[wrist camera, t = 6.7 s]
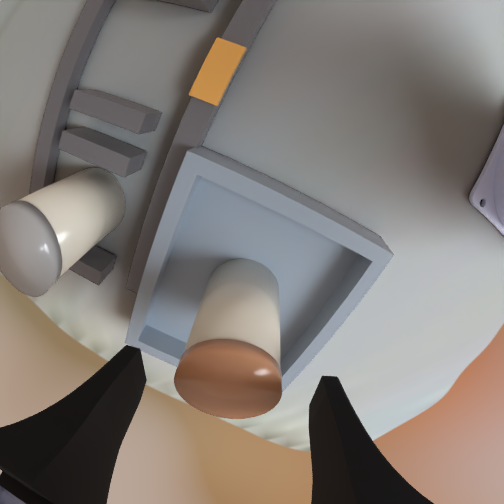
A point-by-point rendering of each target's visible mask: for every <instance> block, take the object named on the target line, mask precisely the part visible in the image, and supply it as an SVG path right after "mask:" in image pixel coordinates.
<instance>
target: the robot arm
mask: <svg viewBox="0 0 504 504" xmlns="http://www.w3.org/2000/svg"><path fill="white" fill-rule="evenodd" d="M469 200H470V203H471V204H472V205H473V206H474V207H475V208H476V209H477V210H478V211H480V212H481V213H482V214H483V215H484V216H485V217H486V218H487V219H488V220H489V221H490V222H491V223H492V224H493V225H494V226H495V227H496V228H497V229H498V230H499V231H500V232H501V233H502V234H503V236H504V125H503V127H502V129H501V132H500V134H499V136H498V139H497V141H496V143H495V145H494V148H493V150H492V152H491V154H490V156H489V158H488V160H487V162H486V164H485V166H484V168H483V170H482V172H481V174H480V176H479V178H478V180H477V182H476V184H475V185H474V187H473V189H472V191H471V193H470V195H469ZM481 200H482V203H481V205H480V201H481ZM145 384H146V375H145V370H144V366H143V361H142V355H141V350H140V348H136V347H132V346H128V345H126V346H125V347H124V348H123V349H121V350H120V351H119V352H118V353H117V354H116V355H115V356H114V357H113V358H112V359H111V360H110V361H109V362H107V363H106V364H105V365H104V366H103V367H102V368H101V369H100V370H99V371H97V372H96V373H95V374H94V375H93V376H92V377H91V378H89V379H88V380H87V381H86V382H84V383H83V384H82V385H81V386H79V387H78V388H77V389H76V390H74V391H73V392H72V393H70V394H69V395H67V396H66V397H64V398H63V399H61V400H60V401H58V402H57V403H55V404H54V405H52V406H50V407H48V408H47V409H45V410H43V411H41V412H39V413H37V414H35V415H33V416H31V417H28V418H26V419H24V420H21V421H19V422H16V423H14V424H11V425H7V426H4V427H1V428H0V469H1V470H2V473H1V475H0V504H106V503H107V498H108V492H109V488H110V483H111V478H112V474H113V470H114V466H115V463H116V459H117V455H118V452H119V449H120V446H121V444H122V440H123V439H124V436H125V434H126V432H127V429H128V427H129V425H130V423H131V421H132V418H133V416H134V414H135V411H136V409H137V407H138V405H139V402H140V400H141V397H142V394H143V390H144V387H145ZM309 436H310V448H311V459H312V473H313V485H312V502H311V504H434V503H432V502H431V501H430V500H428V499H427V498H426V497H424V496H423V495H422V494H420V493H419V492H418V491H417V490H416V489H414V488H413V487H412V486H411V485H410V484H409V483H408V482H407V481H406V480H405V479H404V478H403V477H402V476H401V475H400V474H399V473H398V472H397V471H396V470H395V469H394V468H393V467H392V466H391V464H390V463H389V462H388V461H387V460H386V458H385V457H384V456H383V455H382V454H381V452H380V451H379V449H378V448H377V447H376V445H375V444H374V442H373V441H372V439H371V438H370V436H369V435H368V433H367V431H366V430H365V428H364V427H363V425H362V423H361V421H360V420H359V418H358V416H357V414H356V413H355V411H354V409H353V407H352V405H351V403H350V401H349V399H348V397H347V395H346V393H345V391H344V389H343V387H342V385H341V383H340V381H339V379H338V377H334V376H322V377H321V380H320V382H319V384H318V387H317V389H316V391H315V394H314V396H313V398H312V400H311V403H310V405H309Z"/></svg>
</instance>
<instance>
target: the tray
mask: <svg viewBox="0 0 504 504" xmlns="http://www.w3.org/2000/svg"><path fill="white" fill-rule="evenodd" d="M393 256H394V254H393V253H392V251H391V250H390V249H389V247H388V246H387V245H386V243H385V242H384V241H383V239H382V238H381V237H380V236H378V235H377V234H375V233H373V232H372V231H370V230H368V229H366V228H365V227H363V226H361V225H359V224H358V223H356V222H354V221H352V220H350V219H349V218H347V217H345V216H343V215H341V214H340V213H338V212H336V211H334V210H332V209H330V208H329V207H327V206H325V205H323V204H321V203H319V202H317V201H315V200H314V199H312V198H310V197H308V196H306V195H304V194H302V193H300V192H298V191H296V190H294V189H292V188H290V187H288V186H286V185H284V184H282V183H280V182H278V181H276V180H274V179H272V178H270V177H268V176H266V175H264V174H262V173H260V172H258V171H256V170H254V169H251V168H249V167H247V166H245V165H243V164H241V163H239V162H236V161H234V160H232V159H230V158H228V157H225V156H223V155H221V154H219V153H217V152H214V151H212V150H210V149H207V148H205V147H203V146H200V147H198V148H195V147H194V148H192V149H190V150H188V151H187V153H186V155H185V157H184V160H183V162H182V165H181V167H180V170H179V172H178V175H177V177H176V180H175V183H174V185H173V188H172V191H171V193H170V196H169V199H168V201H167V204H166V207H165V210H164V212H163V215H162V218H161V221H160V224H159V227H158V230H157V233H156V236H155V239H154V242H153V245H152V248H151V251H150V254H149V257H148V260H147V263H146V267H145V270H144V273H143V277H142V280H141V283H140V287H139V290H138V294H137V297H136V301H135V305H134V308H133V312H132V316H131V320H130V324H129V327H128V331H127V336H126V340H125V343H127V344H129V345H131V346H133V347H136V348H140V350H141V351H143V352H145V353H147V354H149V355H152V356H154V357H156V358H158V359H160V360H163V361H165V362H167V363H169V364H172V365H174V366H176V367H178V364H179V361H180V358H181V356H182V354H183V353H184V350H185V347H186V344H187V341H188V338H189V335H190V332H191V329H192V326H193V323H194V320H195V318H196V315H197V312H198V309H199V306H200V303H201V300H202V297H203V295H204V292H205V289H206V286H207V283H208V281H209V278H210V276H211V274H212V272H213V271H214V270H215V269H216V268H217V267H218V266H219V265H221V264H223V263H225V262H227V261H230V260H234V259H249V260H253V261H256V262H259V263H261V264H263V265H264V266H266V267H267V268H268V269H269V270H270V271H271V272H272V273H273V274H274V275H275V277H276V279H277V281H278V284H279V299H280V367H281V372H282V392H283V391H284V390H285V389H286V388H287V386H288V385H289V384H290V383H291V382H292V381H293V380H294V379H295V378H296V377H297V376H298V375H299V374H300V373H301V371H302V370H303V369H304V368H305V367H306V366H307V365H308V364H309V363H310V361H311V360H312V359H313V358H314V357H315V356H316V355H317V354H318V352H319V351H320V350H321V349H322V348H323V347H324V345H325V344H326V343H327V342H328V341H329V340H330V338H331V337H332V336H333V335H334V334H335V332H336V331H337V330H338V329H339V327H340V326H341V325H342V324H343V323H344V321H345V320H346V319H347V318H348V316H349V315H350V314H351V313H352V311H353V310H354V309H355V307H356V306H357V305H358V304H359V302H360V301H361V300H362V298H363V297H364V296H365V294H366V293H367V292H368V290H369V289H370V288H371V286H372V285H373V284H374V282H375V281H376V280H377V278H378V277H379V276H380V274H381V273H382V271H383V270H384V269H385V267H386V266H387V264H388V263H389V261H390V260H391V259H392V257H393Z"/></svg>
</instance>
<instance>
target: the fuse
mask: <svg viewBox="0 0 504 504" xmlns="http://www.w3.org/2000/svg"><path fill="white" fill-rule="evenodd" d="M124 212H125V197H124V193H123V190H122V188H121V186H120V184H119V182H118V181H117V180H116V178H115V177H114V176H113V175H112V174H110V173H109V172H108V171H106V170H104V169H101V168H89V169H86V170H83V171H81V172H78V173H76V174H74V175H71V176H69V177H66V178H64V179H62V180H60V181H57V182H55V183H53V184H51V185H48V186H46V187H44V188H42V189H40V190H38V191H36V192H33V193H31V194H29V195H27V196H25V197H23V198H21V199H19V200H17V201H13V202H11V203H9V204H7V205H5V206H3V207H2V208H0V270H1V272H2V273H3V275H4V276H5V278H6V279H7V280H8V281H9V282H10V283H11V284H12V285H13V286H14V287H15V288H16V289H17V290H19V291H20V292H22V293H23V294H26V295H28V296H32V297H38V296H41V295H43V294H45V293H46V292H47V291H48V290H49V289H50V288H51V287H52V286H53V285H54V284H55V283H56V282H57V281H58V279H59V278H60V277H61V276H62V275H63V274H64V273H65V272H66V271H67V270H68V269H69V268H70V267H71V266H72V265H73V264H75V263H76V262H77V261H78V260H79V259H80V258H81V257H82V256H83V255H84V254H86V253H87V252H88V251H89V250H90V249H91V248H92V247H94V246H95V245H96V244H97V243H98V242H99V241H101V240H102V239H103V238H104V237H105V236H106V235H108V234H109V233H110V232H111V231H112V230H114V229H115V228H116V227H117V226H118V225H119V224H120V222H121V221H122V219H123V216H124Z"/></svg>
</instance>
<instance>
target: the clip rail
mask: <svg viewBox="0 0 504 504" xmlns="http://www.w3.org/2000/svg"><path fill="white" fill-rule="evenodd" d="M160 1H165V2H170V3H174V4H179V5H183V6H187V7H191V8H195V9H199V10H202V11H206V12H209V13H211V12H212V10H213V8H214V7H215V5H216V3H217V2H218V0H160ZM276 1H277V0H243V1H242V2H241V4H240V6H239V7H238V9H237V11H236V12H235V14H234V16H233V18H232V19H231V21H230V23H229V25H228V26H227V28H226V30H225V32H224V34H223V35H222V37H221V38H218V37H217V38H216V40H215V42H214V44H213V46H212V48H211V50H210V51H209V53H208V55H207V57H206V59H205V61H204V63H203V65H202V67H201V69H200V71H199V73H198V76H197V78H196V80H195V82H194V84H193V86H192V88H191V90H190V93H189V95H190V96H192V97H191V100H190V102H189V104H188V106H187V109H186V111H185V113H184V115H183V118H182V120H181V123H180V125H179V127H178V130H177V132H176V135H175V137H174V139H173V142H172V144H171V147H170V149H169V152H168V155H167V157H166V160H165V162H164V165H163V168H162V171H161V173H160V176H159V179H158V182H157V184H156V187H155V190H154V193H153V196H152V199H151V202H150V205H149V208H148V211H147V214H146V217H145V220H144V223H143V227H142V230H141V233H140V236H139V240H138V243H137V247H136V250H135V254H134V257H133V261H132V265H131V268H130V272H129V276H128V280H127V284H126V289H128V290H130V291H132V292H134V293H136V294H138V290H139V287H140V283H141V280H142V277H143V273H144V270H145V267H146V263H147V260H148V257H149V254H150V251H151V248H152V245H153V242H154V239H155V236H156V233H157V230H158V227H159V224H160V221H161V218H162V215H163V212H164V210H165V207H166V204H167V201H168V199H169V196H170V193H171V191H172V188H173V185H174V183H175V180H176V177H177V175H178V172H179V170H180V167H181V165H182V162H183V160H184V157H185V155H186V153H187V151H188V150H190V149H192V148H194V147H195V148H198V147H200V146H202V144H203V142H204V139H205V137H206V135H207V133H208V130H209V128H210V126H211V124H212V122H213V119H214V117H215V115H216V113H217V111H218V109H219V107H220V105H221V102H222V100H223V98H224V96H225V94H226V92H227V90H228V88H229V86H230V84H231V82H232V80H233V78H234V76H235V74H236V72H237V70H238V68H239V66H240V64H241V63H242V61H243V59H244V57H245V55H246V53H247V51H248V49H249V48H250V46H251V44H252V42H253V40H254V39H255V37H256V35H257V33H258V31H259V30H260V28H261V26H262V24H263V23H264V21H265V19H266V17H267V16H268V14H269V12H270V11H271V9H272V7H273V6H274V4H275V2H276ZM114 2H115V0H88V1H87V3H86V5H85V6H84V8H83V10H82V12H81V15H80V17H79V19H78V21H77V23H76V25H75V27H74V30H73V32H72V34H71V36H70V39H69V41H68V44H67V46H66V49H65V51H64V54H63V56H62V59H61V62H60V64H59V67H58V70H57V73H56V76H55V79H54V82H53V85H52V88H51V91H50V95H49V98H48V102H47V105H46V109H45V113H44V116H43V120H42V125H41V129H40V133H39V138H38V143H37V148H36V153H35V158H34V164H33V171H32V177H31V185H30V193H29V194H31V193H33V192H36V191H38V190H40V189H42V188H44V187H46V186H48V185H51V184H53V180H54V174H55V169H56V164H57V159H58V155H59V150H63V151H65V152H67V153H69V154H72V155H74V156H76V157H79V158H81V159H83V160H85V161H88V162H90V163H92V164H95V165H97V166H99V167H101V168H104V169H106V170H108V171H110V172H113V173H115V174H117V175H119V176H122V177H126V176H128V175H130V174H132V173H134V172H136V171H138V170H141V168H142V165H143V162H144V159H145V156H146V154H147V152H146V151H143V150H141V149H139V148H136V147H134V146H131V145H129V144H126V143H124V142H122V141H119V140H117V139H114V138H112V137H109V136H107V135H104V134H101V133H99V132H96V131H94V130H91V129H89V128H86V127H79V128H74V129H68V130H65V126H66V122H67V119H68V115H69V112H70V109H72V110H75V111H78V112H81V113H84V114H86V115H89V116H92V117H95V118H97V119H100V120H103V121H106V122H108V123H111V124H114V125H116V126H119V127H121V128H124V129H127V130H129V131H132V132H134V133H137V134H142V133H146V132H152V131H155V129H156V127H157V124H158V122H159V119H160V117H161V114H162V113H161V112H158V111H156V110H153V109H150V108H147V107H145V106H142V105H139V104H136V103H134V102H131V101H128V100H125V99H122V98H119V97H116V96H113V95H110V94H107V93H104V92H100V91H97V90H76V89H77V86H78V84H79V81H80V78H81V75H82V72H83V70H84V67H85V65H86V62H87V60H88V57H89V55H90V52H91V50H92V47H93V45H94V43H95V40H96V38H97V36H98V34H99V32H100V30H101V27H102V25H103V23H104V21H105V19H106V17H107V15H108V13H109V11H110V9H111V7H112V5H113V4H114ZM115 260H116V256H114V255H112V254H110V253H109V252H107V251H105V250H103V249H101V248H99V247H97V246H94V247H92V248H91V249H90V250H89V251H88V252H87V253H86V254H84V255H83V256H82V257H81V258H80V259H79V260H78V261H77V262H76V263H75V264H73V265H72V266H71V267H70V268H69V269H70V270H72V271H73V272H75V273H77V274H79V275H81V276H82V277H84V278H86V279H88V280H90V281H91V282H93V283H95V284H97V285H100V283H101V282H102V281H103V280H104V279H105V278H106V277H107V276H108V274H109V273H110V272H111V271H112V270H113V268H114V264H115Z"/></svg>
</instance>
